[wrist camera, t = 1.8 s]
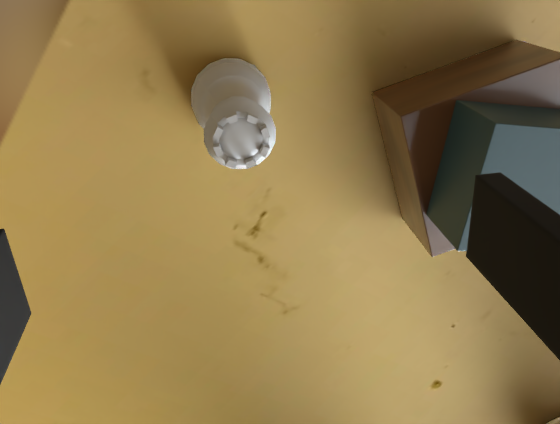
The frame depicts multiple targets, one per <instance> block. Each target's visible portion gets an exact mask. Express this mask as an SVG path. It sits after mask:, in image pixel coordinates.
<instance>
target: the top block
mask: <svg viewBox="0 0 560 424" xmlns="http://www.w3.org/2000/svg"><path fill="white" fill-rule="evenodd" d="M498 172H501V173H502V174H503V175H505V176H506V177H508V178H509V179H510V180H512V181H513V182H515V183H516V184H517V185H519V186H520V187H522V188H523V189H524V190H526V191H527V192H529V193H530V194H531V195H533V196H534V197H536V198H537V199H538V200H540V201H541V202H543V203H544V204H545V205H547V206H548V207H550V208H551V209H552V210H554V211H555V212H557V213H558V214H559V215H560V109H553V108H541V107H530V106H519V105H507V104H496V103H485V102H473V101H462V100H456V103H455V107H454V111H453V115H452V119H451V122H450V126H449V130H448V134H447V138H446V141H445V145H444V149H443V153H442V157H441V160H440V164H439V168H438V172H437V176H436V180H435V183H434V187H433V191H432V195H431V199H430V202H429V206H428V210H427V214H426V215H427V216H428V217H429V219H430V220H431V221H432V222H433V223H434V224H435V225H436V227H437V228H438V229H439V230H440V231H441V232H442V234H443V235H444V236H445V237H446V238H447V239H448V240H449V242H450V243H451V244H452V245H453V246H454V247H455V249H456V250H457V251H467V244H468V236H469V227H470V218H471V210H472V201H473V193H474V184H475V175H481V174H489V173H498Z"/></svg>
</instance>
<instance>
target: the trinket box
mask: <svg viewBox="0 0 560 424" xmlns="http://www.w3.org/2000/svg"><path fill="white" fill-rule="evenodd" d="M546 424H560V417H558V418H555V419H553V420H551V421H550V422H548V423H546Z"/></svg>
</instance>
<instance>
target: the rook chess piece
mask: <svg viewBox="0 0 560 424" xmlns="http://www.w3.org/2000/svg"><path fill="white" fill-rule="evenodd" d="M191 106H192V108H193V112H194V114H195V116H196V119H197V121H198V123H199V124H200V125H201V126H202V127H203V128H204V143H205V145H206V148H207V150H208V152H209V154H210V155H211V156H212V157H213V158H214V159H215V160H216V161H217V162H218V163H219V164H221V165H224V166H226V167H229V168H231V169H248V168H251V167H253V166H256V165H258V164H260V163H261V162H262V161H263V160H264V159H265V158H266V157H267V156H268V155H269V154H270V152H271V150H272V148H273V146H274V144H275V138H276V128H275V125H274V122H273V119H272V117H271V115H270V114H269V113H270V108H271V94H270V89H269V87H268V84H267V81H266V78H265V76H264V75H263V74H262V73H261V72H260V71H259V70H258V69H257V68H256V67H255V65H252V64H250V63H248V62H246V61H244V60H242V59H235V58H223V59H220V60H218V61H215V62H212V63H210V64H208V65H207V66H206V67H205V68H204V69H203V70H202V71H201V72H200V73H199V74H198V75H197V77H196V79H195V82H194V84H193V86H192V89H191Z"/></svg>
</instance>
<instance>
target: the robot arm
mask: <svg viewBox="0 0 560 424" xmlns="http://www.w3.org/2000/svg"><path fill="white" fill-rule="evenodd" d="M466 257H467V258H468V259H469V260H470V261H471V262H472V264H473V265H474V266H475V267H476V268H477V269H478V270H479V271H480V272H481V274H482V275H483V276H484V277H485V278H486V279H487V280H488V281H489V282H490V283H491V285H492V286H493V287H494V288H495V289H496V290H497V291H498V292H499V293H500V295H501V296H502V297H503V298H504V299H505V300H506V301H507V302H508V303H509V305H510V306H511V307H512V308H513V309H514V310H515V311H516V312H517V313H518V315H519V316H520V317H521V318H522V319H523V320H524V321H525V322H526V323H527V325H528V326H529V327H530V328H531V329H532V330H533V331H534V332H535V333H536V335H537V336H538V337H539V338H540V339H541V340H542V341H543V342H544V343H545V345H546V346H547V347H548V348H549V349H550V350H551V351H552V352H553V353H554V354H555V356H556V357H557V358H558V359H559V360H560V215H559V214H558V213H557V212H555V211H554V210H552V209H551V208H550V207H548V206H547V205H545V204H544V203H543V202H541V201H540V200H538V199H537V198H536V197H534V196H533V195H531V194H530V193H529V192H527V191H526V190H524V189H523V188H522V187H520V186H519V185H517V184H516V183H515V182H513V181H512V180H510V179H509V178H508V177H506V176H505V175H503V174H502V173H501V172H498V173H489V174H481V175H475V184H474V193H473V201H472V210H471V218H470V227H469V236H468V244H467V253H466ZM30 315H31V311H30V308H29V305H28V301H27V298H26V295H25V292H24V289H23V286H22V283H21V280H20V277H19V274H18V270H17V267H16V264H15V261H14V258H13V255H12V252H11V249H10V246H9V243H8V239H7V236H6V233H5V230H4V229H0V384H1V382H2V379H3V377H4V375H5V373H6V370H7V368H8V366H9V363H10V361H11V359H12V356H13V354H14V352H15V350H16V347H17V345H18V343H19V340H20V338H21V336H22V334H23V331H24V329H25V327H26V324H27V322H28V320H29V317H30Z"/></svg>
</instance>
